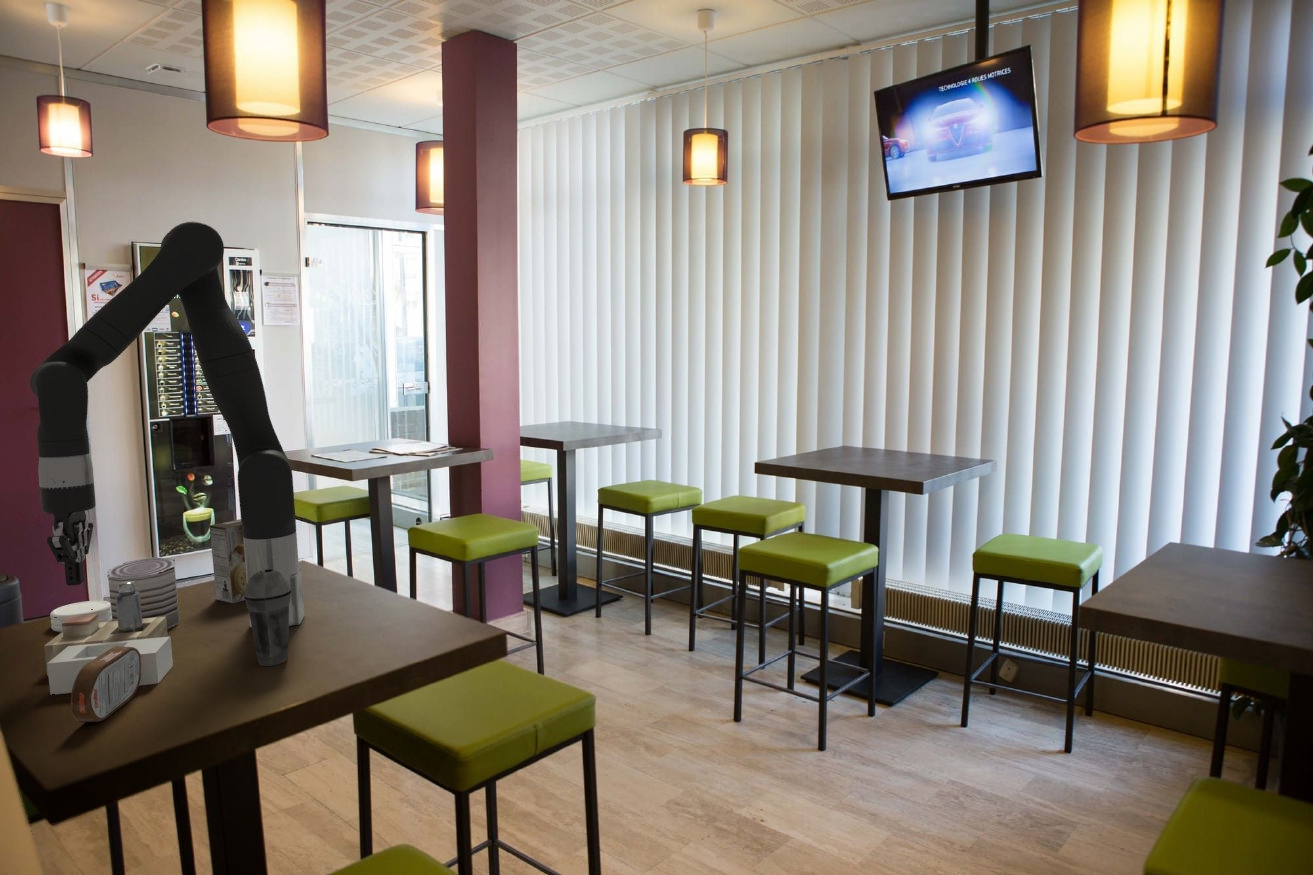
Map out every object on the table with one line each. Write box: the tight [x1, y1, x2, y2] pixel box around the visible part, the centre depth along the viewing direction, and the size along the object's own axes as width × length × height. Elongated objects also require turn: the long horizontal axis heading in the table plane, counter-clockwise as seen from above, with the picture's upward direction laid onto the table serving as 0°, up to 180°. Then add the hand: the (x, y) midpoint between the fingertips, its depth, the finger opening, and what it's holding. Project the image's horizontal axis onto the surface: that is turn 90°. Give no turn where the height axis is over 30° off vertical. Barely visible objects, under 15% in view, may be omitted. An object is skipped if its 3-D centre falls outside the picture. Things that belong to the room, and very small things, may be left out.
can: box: [106, 556, 180, 630], centre depth 167 cm, size 11×11×12 cm
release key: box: [62, 614, 99, 638], centre depth 149 cm, size 4×4×4 cm
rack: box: [47, 636, 174, 696], centre depth 140 cm, size 15×8×5 cm, turn 104°
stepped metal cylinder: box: [115, 581, 143, 634], centre depth 150 cm, size 4×4×13 cm
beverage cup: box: [244, 545, 292, 667], centre depth 146 cm, size 7×7×20 cm
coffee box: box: [209, 518, 247, 604], centre depth 186 cm, size 9×6×16 cm
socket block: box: [43, 617, 169, 677], centre depth 150 cm, size 15×11×5 cm
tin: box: [70, 646, 141, 724], centre depth 128 cm, size 15×3×8 cm, turn 5°
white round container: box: [49, 600, 112, 633], centre depth 170 cm, size 10×10×4 cm
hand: (75, 583), depth 148 cm, fingers closed
